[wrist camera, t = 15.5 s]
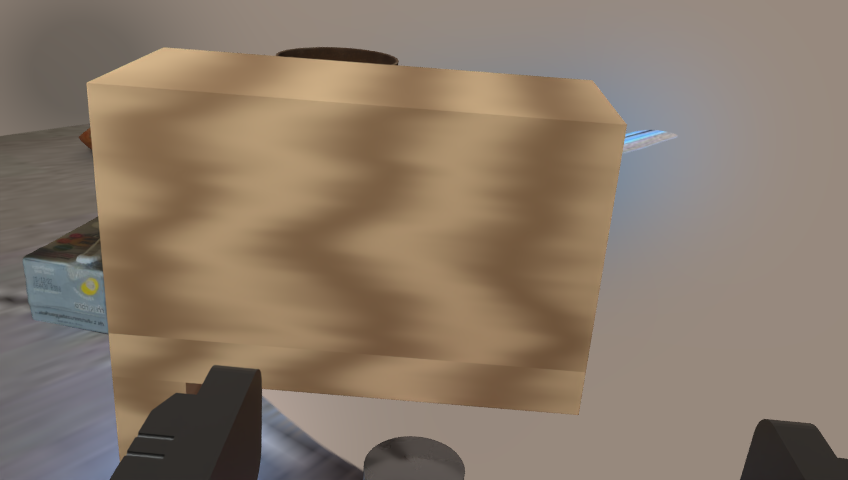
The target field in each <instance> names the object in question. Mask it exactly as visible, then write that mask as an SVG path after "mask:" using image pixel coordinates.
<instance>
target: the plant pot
mask: <svg viewBox="0 0 848 480" xmlns="http://www.w3.org/2000/svg"><path fill="white" fill-rule="evenodd" d="M276 56H280V57H293V58H306V59H319V60H332V61H345V62H358V63H371V64H384V65H397V66H398V62H399V61H398V59H397V58H395V57H393V56H391V55H388V54H384V53H380V52H375V51H369V50H362V49H352V48H337V47H315V48H314V47H313V48H298V49H290V50H285V51H281V52H279V53H277V54H276Z"/></svg>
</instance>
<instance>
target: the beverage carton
mask: <svg viewBox="0 0 848 480" xmlns="http://www.w3.org/2000/svg"><path fill="white" fill-rule="evenodd" d="M23 266H24V272H25V277H26V290H27V294H28V303H29V305H30V308H31V313H32V318H33V319H34V320H37V321H44V322H49V323H55V324H60V325H64V326H70V327H74V328H80V329H85V330H90V331H95V332H100V333H106V334H109V332H108V320H107V309H106V298H105V286H104V275H103V264H102V253H101V241H100V230H99V219H98V217H96V218H95V219H93V220H91V221H89V222H87V223H86V224H84V225H82V226H80V227H78V228H76V229H75V230H73V231H71V232H69V233H67V234H65V235H64V236H62V237H60V238H59V239H57V240H55V241H53V242H51V243H50V244H48V245H46V246H44V247H41V248H39V249H37V250H36V251H34V252H32V253H30V254H28V255H26V256H25V257H24V258H23Z"/></svg>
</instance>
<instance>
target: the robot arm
mask: <svg viewBox="0 0 848 480" xmlns="http://www.w3.org/2000/svg"><path fill="white" fill-rule="evenodd" d="M261 434H262V376H261V371H260V369H253V368H242V367H232V366H221V365H213V366H212V367H211V369H210V371H209V373H208V374H207V376H206V378H205V380H204V382H203V384H202V386H201V388H200V390H199V391H198V393H197V395H195V394H185V393H175V394H173V395H172V396H171V397H169V398H168V399H167V400H165V401H164V402H162V403H161V404H160V405H158V406H157V407H156V408H154V409H153V410H151V412H150V414H149V415H148V417H147V419H146V420H145V422H144V424H143V425H142V427H141V429H140V430H139V432H138V436H137V437H135V438H134V440H133V442H132V443H131V445H130V447H129V448H128V450H127V455H126V456H124V457H123V458H122V460H121V462H120V463H119V465H118V467H117V468H116V470H115V472H114V473H113V475H112V477H111V478H110V480H257V478H258V473H259V467H260V459H261ZM740 480H848V459H844V458H837V457H836V455H835V454H834V452H833V451H832V449H831V448H830V446H829V445H828V443H827V442H826V440H825V439H824V437H823V436H822V434H821V433H820V431H819V430H818V428H817V427H816V426H815V425H813V424H811V423H800V422H790V421H779V420H769V419H764V420H761V421H760V422H759V424H758V425H757V427H756V429H755V432H754V435H753V438H752V442H751V445H750V448H749V452H748V455H747V459H746V462H745V465H744V469H743V472H742V476H741V479H740Z"/></svg>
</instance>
